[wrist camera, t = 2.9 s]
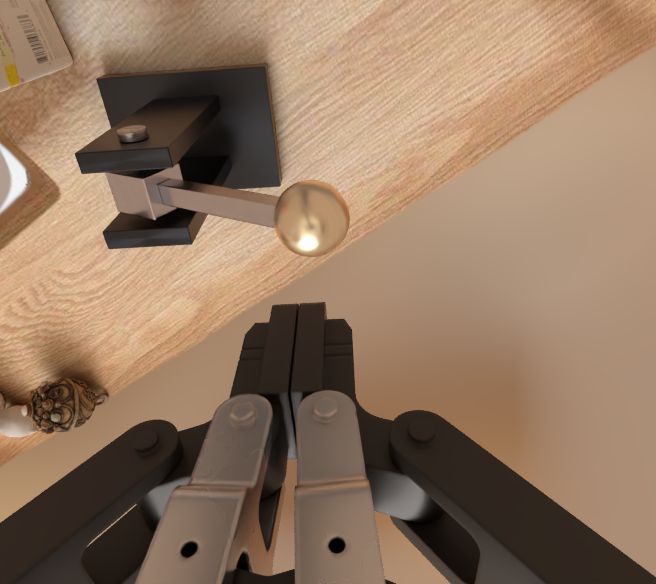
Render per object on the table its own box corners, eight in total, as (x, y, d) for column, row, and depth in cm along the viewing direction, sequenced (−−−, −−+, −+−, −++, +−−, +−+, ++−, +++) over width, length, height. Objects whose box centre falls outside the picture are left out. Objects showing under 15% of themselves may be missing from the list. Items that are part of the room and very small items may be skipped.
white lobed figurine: (-48, 443, 48) (44, 448, 51) (-61, 450, 42) (43, 455, 46) (-33, 388, 49) (56, 396, 53) (-43, 387, 44) (57, 397, 47)
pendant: (7, 406, 45) (23, 370, 43) (90, 394, 51) (107, 363, 49) (21, 451, 43) (39, 416, 41) (106, 434, 49) (125, 402, 47)
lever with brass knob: (361, 174, 20) (321, 203, 18) (363, 243, 22) (327, 277, 19) (145, 145, 26) (94, 164, 24) (160, 201, 28) (114, 224, 25)
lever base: (267, 63, 32) (233, 107, 21) (282, 180, 36) (260, 266, 25) (103, 75, 32) (-11, 124, 22) (137, 189, 37) (56, 277, 26)
